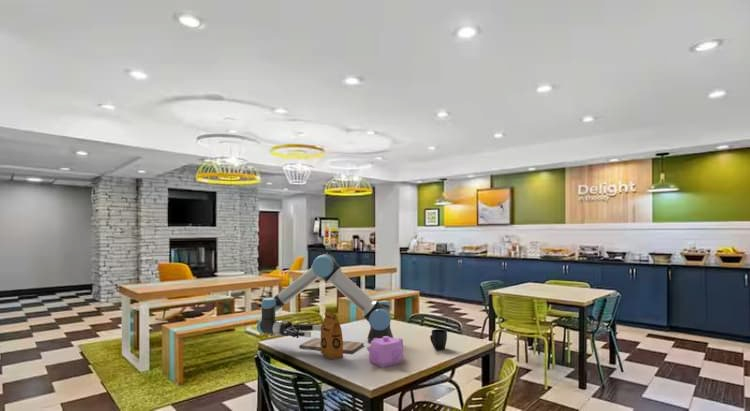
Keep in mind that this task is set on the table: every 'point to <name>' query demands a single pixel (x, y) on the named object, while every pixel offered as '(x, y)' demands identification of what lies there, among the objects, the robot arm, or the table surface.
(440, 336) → the mug
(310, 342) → the walnut board
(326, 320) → the coffee package
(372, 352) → the teakettle
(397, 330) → the table surface
